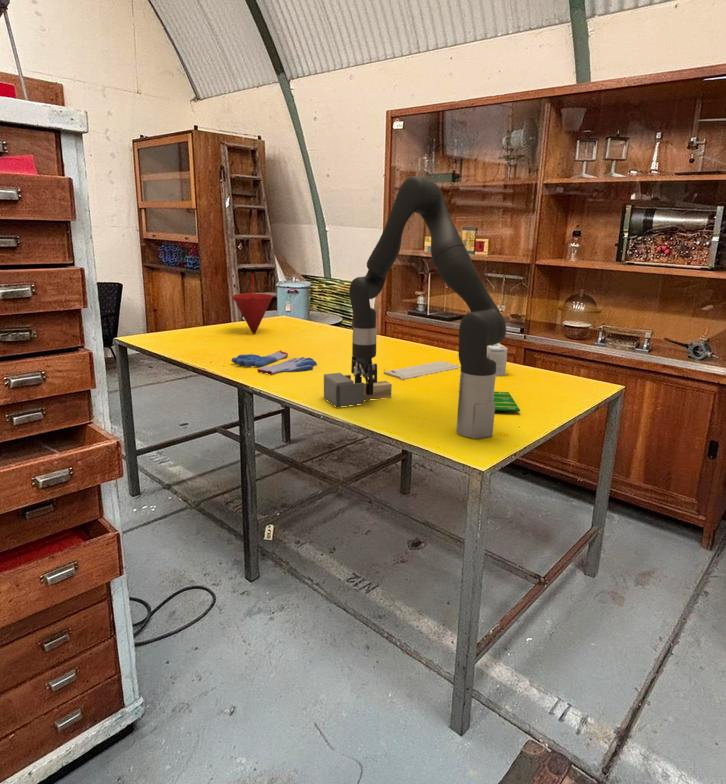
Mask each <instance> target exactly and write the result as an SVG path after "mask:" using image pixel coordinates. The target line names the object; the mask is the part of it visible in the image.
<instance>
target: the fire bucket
mask: <svg viewBox="0 0 726 784" xmlns="http://www.w3.org/2000/svg"><path fill="white" fill-rule="evenodd" d="M254 278H255V277H254V273H252V275H251V279H250V280H251V281H250V283H252V285H250V288H249V291H248V293H241V294H240V293H238V294H234V295H232V296H231V297H232V299H233V300H234V302H235V304H236V306H237V307H238V311H239V312H240V313H241V315H242V318H244V322H246V324H247V326H248V328H249V329H250V331H251V333H252V335H256V333H257V331H258V329H259V327H260V325H261V323H262V320H263V318H264V316H265V314H266V313H267V309H268V308H269V305H270V303H271V301H272V299H273V298H274V295H272V294H267V293H253V291H251V290H254V285H255V284H254V283H255V281H254V280H255V279H254Z"/></svg>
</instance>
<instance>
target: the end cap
mask: <svg viewBox="0 0 726 784" xmlns="http://www.w3.org/2000/svg"><path fill="white" fill-rule="evenodd" d="M364 383H365V382H362V383H355V380H352V375H351V374H342V373H341V372H334V373H325V374H324V373H323V399H324V398H325V399H326V400H325V399H324V400H325V401H327V400H328V401H329V402H330V403H329V402H328V401H327V402H328V403H329V404H331V403H332V404H333V405H335V406H336V407H341V406H349V405H357V404H365V401H364ZM332 404H331V405H332ZM333 405H332V406H333ZM335 406H334V407H335ZM336 407H335V408H336Z"/></svg>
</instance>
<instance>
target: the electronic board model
mask: <svg viewBox="0 0 726 784" xmlns="http://www.w3.org/2000/svg"><path fill="white" fill-rule="evenodd" d="M493 402H495V411H501V412H502V411H504V412H506V411H507V412H520V411H521V408H520V407H519V406H518V404H517V402H516V401H515V399H514V398H513V396H512V395H511V393H510V391H494V399H493Z"/></svg>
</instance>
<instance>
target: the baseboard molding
mask: <svg viewBox="0 0 726 784" xmlns="http://www.w3.org/2000/svg"><path fill="white" fill-rule="evenodd" d="M458 368H460V369H461V366H459V365H457V364H454V363H449V362H446V361H443V360H440V361H434V362H428V363H423V364H418V365H413V366H407V367H403V368H402V367H401V368H397V369H390V370H383V374H384V375H386V376H389V377H392V378H394V377H395V379H397V378H398V379H397V380H400V381H401V380H402V381H405V380H410V379H414V377H415V378H420V377H424V376H423V375H425V376H429V375H428V374H430V375H434V374H433V373H435V374H438V372H440V373H444V372H443V371H445V372H449V370H450V371H454V369H455V370H459V369H458ZM419 376H420V377H419ZM409 378H410V379H409Z"/></svg>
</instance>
